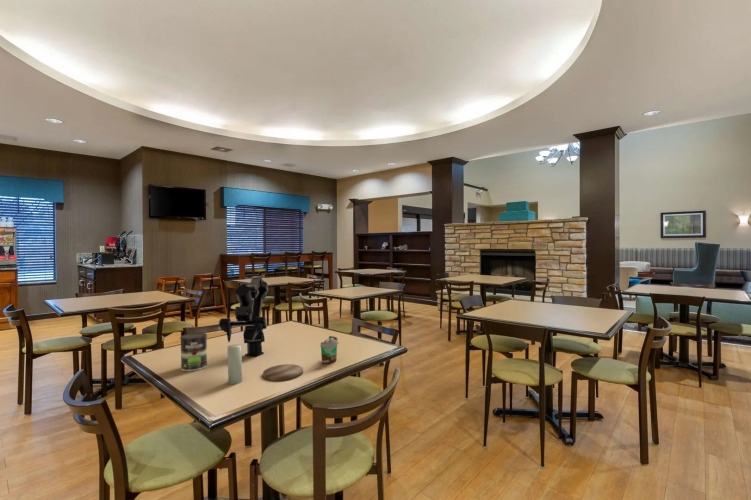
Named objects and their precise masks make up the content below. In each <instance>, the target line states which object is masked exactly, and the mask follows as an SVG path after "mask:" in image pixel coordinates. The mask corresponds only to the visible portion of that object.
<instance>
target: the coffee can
mask: <svg viewBox="0 0 751 500" xmlns="http://www.w3.org/2000/svg"><path fill="white" fill-rule="evenodd" d="M207 337H208V335H207V333H205V332H195V333H194V332H193V333H185V334H182V335H181V336H180V357H181V358H180V370H181V371H182V372H195V371H200V370H203V369H205V368H207V367H208V354H207V353H208V352H207V349H208V348H207V347H208V345H207V343H208V342H207Z"/></svg>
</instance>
